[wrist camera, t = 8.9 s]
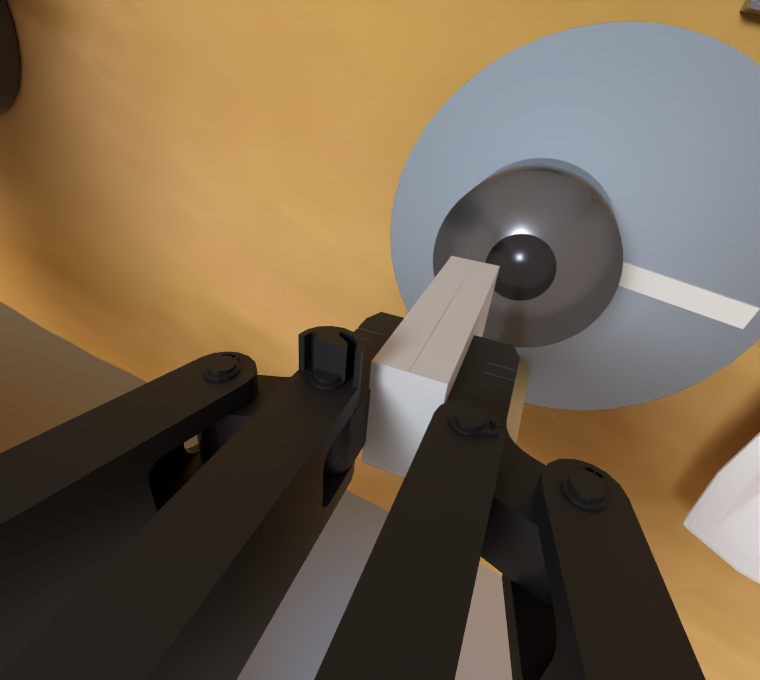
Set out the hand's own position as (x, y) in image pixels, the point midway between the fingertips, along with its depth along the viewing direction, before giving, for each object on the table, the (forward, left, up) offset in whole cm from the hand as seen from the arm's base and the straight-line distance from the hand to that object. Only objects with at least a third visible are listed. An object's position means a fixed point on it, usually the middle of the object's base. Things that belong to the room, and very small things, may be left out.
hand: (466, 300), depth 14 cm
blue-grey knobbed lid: (+3, -1, -14) cm, 14 cm away
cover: (+1, -1, -12) cm, 12 cm away
